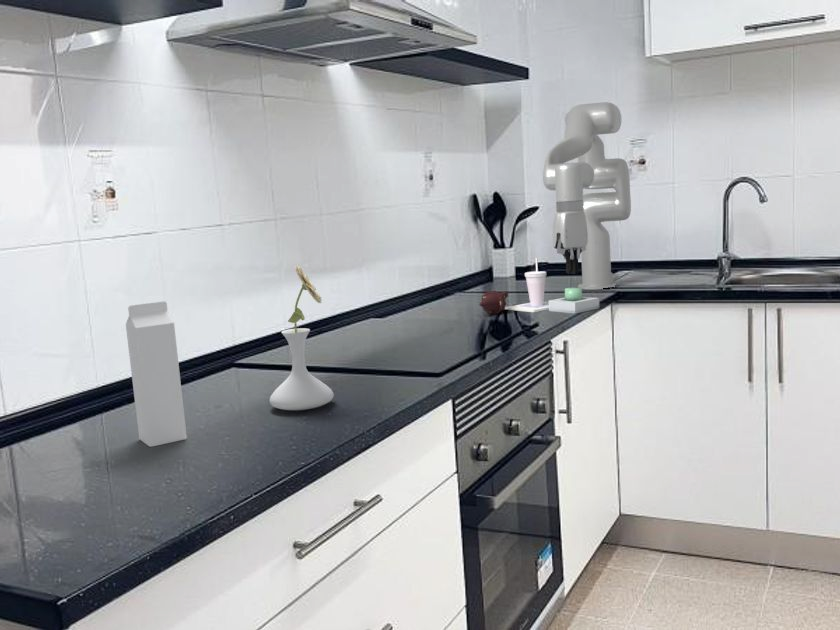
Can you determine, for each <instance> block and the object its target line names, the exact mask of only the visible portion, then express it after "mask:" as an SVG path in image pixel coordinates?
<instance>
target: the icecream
mask: <svg viewBox="0 0 840 630" xmlns="http://www.w3.org/2000/svg"><path fill="white" fill-rule="evenodd" d="M508 295H509V293H508V292H507V291H502V292H498V291H496V290H492V291H491V290H490V291H487V292H486V293H485V294H483V295H482V296H481V302H480V303H479V306H480V307H482V309H483V311H484V312H486V313H487V314H488V315H499V314H500V312H503V311H504V310H506V309H505V307H506V306H507V301H506V299H507V298H508Z"/></svg>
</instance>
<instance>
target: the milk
mask: <svg viewBox="0 0 840 630" xmlns="http://www.w3.org/2000/svg"><path fill="white" fill-rule="evenodd" d="M127 309H128V317H127V320H126V323H125V331H126V338H127V347H128V354H129V363H130V372H131V381H132V389H133V397H134V405H135V413H136V415H135V416H136V421H137V423H136V424H137V429H138V438H139V440H140V441H141V442H142V443H144V444H145V445H146V446H148V447H150V448H152V447H156V446H160V445H165V444H171V443H175V442H180V441H184V440H185V441H186V440H187V437H188V436H187V428H186V420H185V418H186V417H185V411H184V401H183V392H182V391H183V390H182V384H181V383H182V382H181V374H180V366H179V365H180V364H179V355H178V347H177V338H176V330H175V329H176V327H175V322H174V320H173V317H172V316H171V315H170V313H169V310H168V305H167V302H166V301H163V300H162V301H157V302H148V303H141V304H134V305H129V306H128V307H127Z"/></svg>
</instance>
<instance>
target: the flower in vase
mask: <svg viewBox="0 0 840 630" xmlns="http://www.w3.org/2000/svg"><path fill="white" fill-rule="evenodd" d="M294 268H295V269H294V270H295V272H296V274H297V276H298V278H299V279H300V281H301V283H302V284H301V289H300V290H299V293H298V296H297V298H296V300H295V301H296V302H295V305H294V311H293V313H292V315H291V316H290V318H289V319H288V320H287V322H289V323H292V324H294V328H290V329H289V328H288V329H285V330H282V331H281V335H283V337H285V339H286V341H287V343H288V346H289V349H290V354H291V363H292V367H291V371H290V374H289V376H288V377H287V378H286V379H285V380H284V381H283V382H282V383H280V384H279V386H278V387H277V388H276V389H275V390H274V391H273V393H272V394H271V395H270V397H269V404H270V405H271V406H272V407H273V408H277V409H279V410H283V411H305V410H306V411H307V410H312V409H316V408H319V407H323V406H325V405H326V404H328V403H330V402H332V400H333V398H334V396H335V394H334V392H333V389H332V388H330V387H329V386H328V385H327V384H325V383H324V382H322V381H321V380H320V379H318V378H316V377H315V376H313V375H312V374H311V373H310V372H309V371H308V370H309V369H307V365H306V360H305V347H306V340H307V337H308V335H309V333H310V332H311V329H310V328H302V327H300V328H299V327H297V323H298V322H299V321H300V320H301V321H304V320H305V315H304V313H303V311H302V310H301V309H300V307H298V303H299V301H300V298H301V296H302V293H303V291H307V292H308V293H309V295H310V296H311V297H312V298H313V300H315V301H316V302H317V303H318V304H322V297H321V295H319V293H318V292H317V289H316V287H315V286H314V284H311V282H310V279H309V277H308V275H307V274H306V273H305V274H304V272H303V269H302V267H301V266H300V265H299V266H298V265H295V267H294Z"/></svg>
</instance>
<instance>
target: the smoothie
mask: <svg viewBox="0 0 840 630" xmlns="http://www.w3.org/2000/svg"><path fill="white" fill-rule="evenodd" d="M534 259H535V271H527V272H524V277H525V280H526V286H527V292H528V296H529V297H528V298H529V303H530V304H531V306H541V305H543V302H545V301H544V300H545V299H544V297H545V287H546V276H547V271H545V270H543V271H539V268H538V267H539V266H538V264H539V263H538V257H535V258H534Z"/></svg>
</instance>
